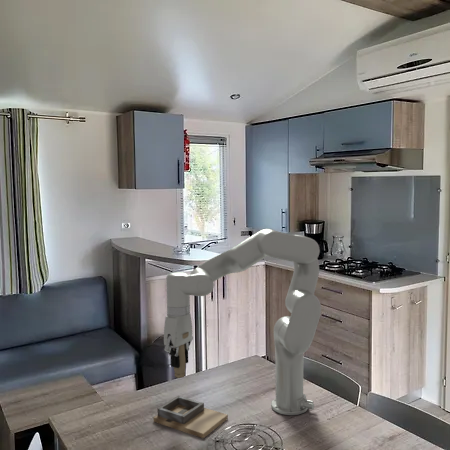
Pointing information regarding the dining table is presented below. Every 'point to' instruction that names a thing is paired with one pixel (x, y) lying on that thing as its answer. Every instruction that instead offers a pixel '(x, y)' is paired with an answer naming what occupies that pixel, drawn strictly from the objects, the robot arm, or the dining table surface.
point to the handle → (181, 359)
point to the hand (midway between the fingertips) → (179, 364)
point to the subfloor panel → (189, 416)
